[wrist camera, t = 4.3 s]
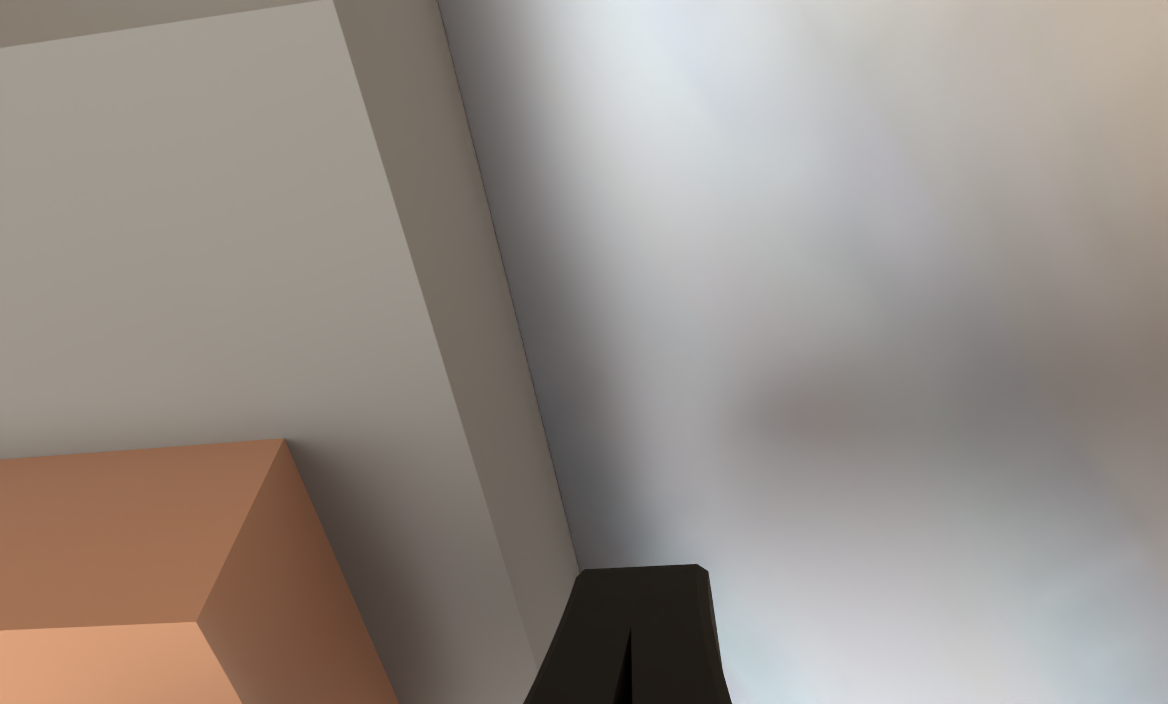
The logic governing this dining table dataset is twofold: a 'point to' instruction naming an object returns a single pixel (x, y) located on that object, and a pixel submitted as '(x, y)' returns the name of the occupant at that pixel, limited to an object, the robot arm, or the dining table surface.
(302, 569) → the tile terracotta
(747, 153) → the dining table surface
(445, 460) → the slate board
